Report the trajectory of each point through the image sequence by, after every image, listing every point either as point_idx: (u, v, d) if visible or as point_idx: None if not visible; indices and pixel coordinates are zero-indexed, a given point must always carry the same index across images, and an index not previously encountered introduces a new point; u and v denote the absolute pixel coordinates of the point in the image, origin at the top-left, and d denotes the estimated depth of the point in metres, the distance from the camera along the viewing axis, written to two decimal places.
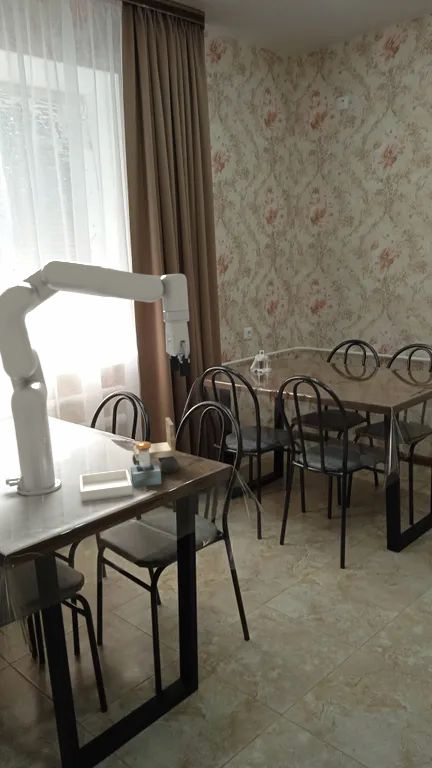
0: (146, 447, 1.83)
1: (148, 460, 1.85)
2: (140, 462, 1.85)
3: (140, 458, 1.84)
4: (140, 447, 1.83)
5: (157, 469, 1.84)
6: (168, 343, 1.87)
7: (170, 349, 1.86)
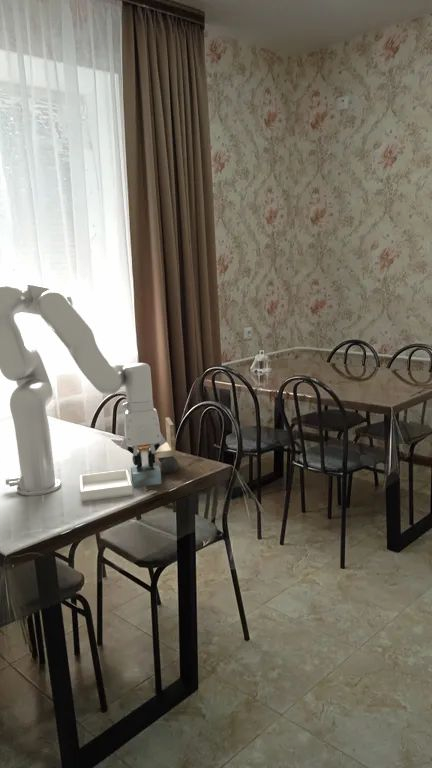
0: (146, 447, 1.83)
1: (148, 460, 1.85)
2: (140, 462, 1.85)
3: (140, 458, 1.84)
4: (140, 447, 1.83)
5: (157, 469, 1.84)
6: (140, 434, 1.81)
7: (147, 439, 1.82)
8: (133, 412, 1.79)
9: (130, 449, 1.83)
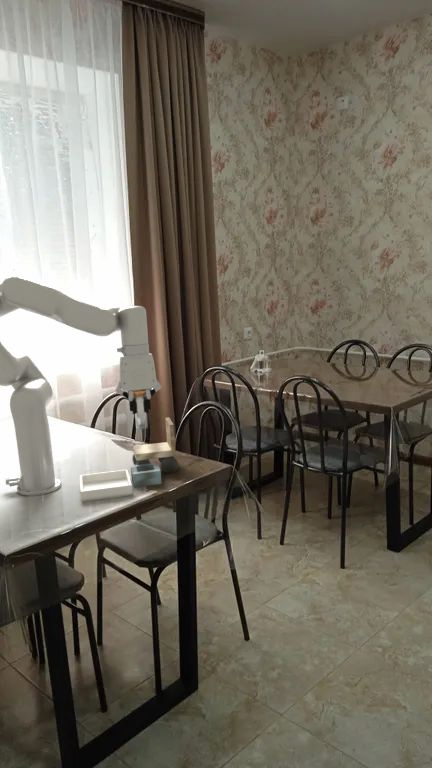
0: (141, 392, 1.80)
1: (143, 406, 1.82)
2: (135, 408, 1.82)
3: (135, 404, 1.81)
4: (135, 392, 1.80)
5: (157, 469, 1.84)
6: (135, 379, 1.78)
7: (143, 383, 1.79)
8: (128, 355, 1.76)
9: (125, 394, 1.80)
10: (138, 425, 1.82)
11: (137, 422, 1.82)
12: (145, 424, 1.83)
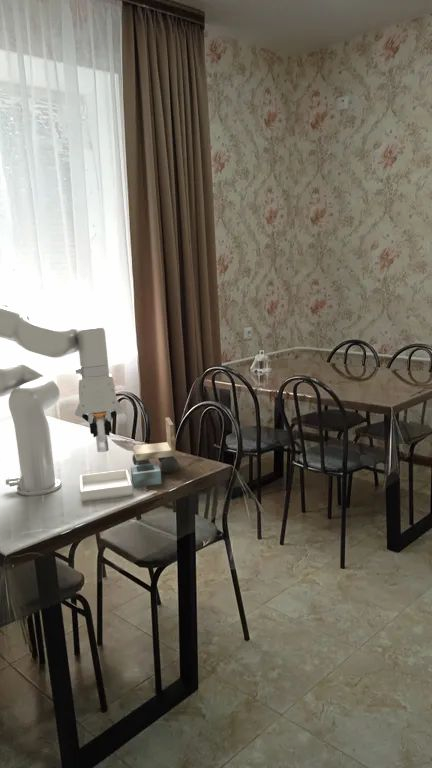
0: (101, 414, 1.75)
1: (104, 428, 1.77)
2: (96, 430, 1.77)
3: (96, 426, 1.77)
4: (95, 414, 1.75)
5: (157, 469, 1.84)
6: (95, 401, 1.73)
7: (103, 405, 1.74)
8: (87, 377, 1.72)
9: (85, 417, 1.76)
10: (99, 447, 1.78)
11: (98, 445, 1.78)
12: (106, 447, 1.78)
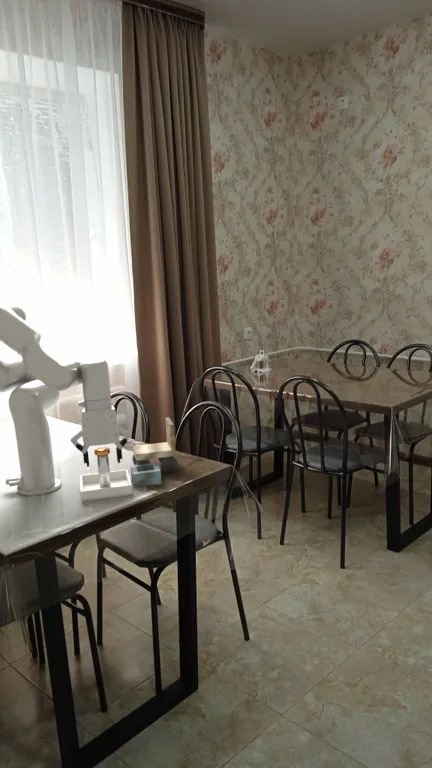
0: (104, 453, 1.77)
1: (107, 466, 1.79)
2: (99, 468, 1.79)
3: (99, 464, 1.79)
4: (98, 453, 1.77)
5: (157, 469, 1.84)
6: (97, 433, 1.75)
7: (105, 438, 1.76)
8: (90, 410, 1.74)
9: (78, 446, 1.77)
10: (101, 485, 1.80)
11: (101, 482, 1.80)
12: (109, 484, 1.80)
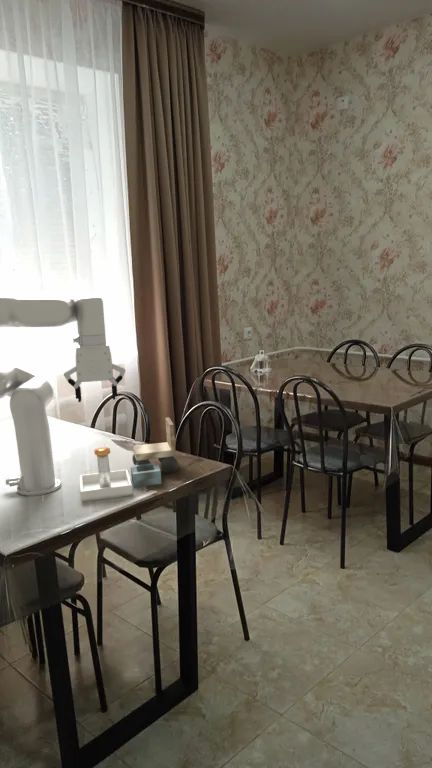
0: (104, 453, 1.77)
1: (107, 466, 1.79)
2: (99, 468, 1.79)
3: (99, 464, 1.79)
4: (98, 453, 1.77)
5: (157, 469, 1.84)
6: (91, 369, 1.77)
7: (98, 374, 1.77)
8: (83, 346, 1.75)
9: (70, 381, 1.78)
10: (101, 485, 1.80)
11: (101, 482, 1.80)
12: (109, 484, 1.80)
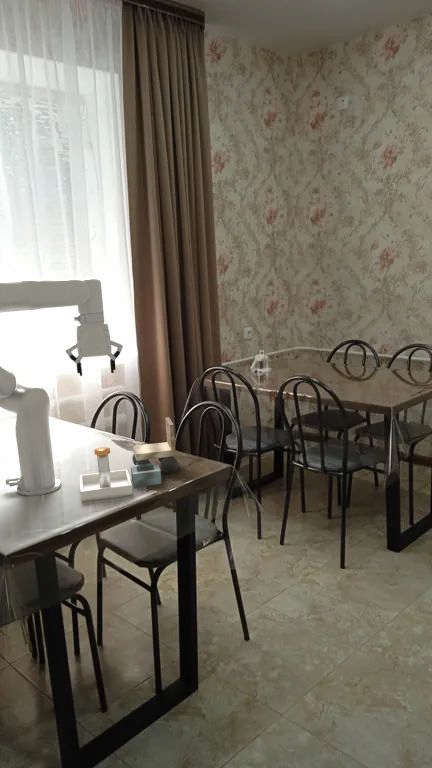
0: (104, 453, 1.78)
1: (107, 466, 1.79)
2: (99, 468, 1.79)
3: (99, 464, 1.79)
4: (98, 453, 1.77)
5: (157, 469, 1.84)
6: (91, 345, 1.91)
7: (98, 350, 1.92)
8: (84, 323, 1.89)
9: (72, 357, 1.93)
10: (101, 485, 1.80)
11: (101, 482, 1.80)
12: (109, 484, 1.80)
